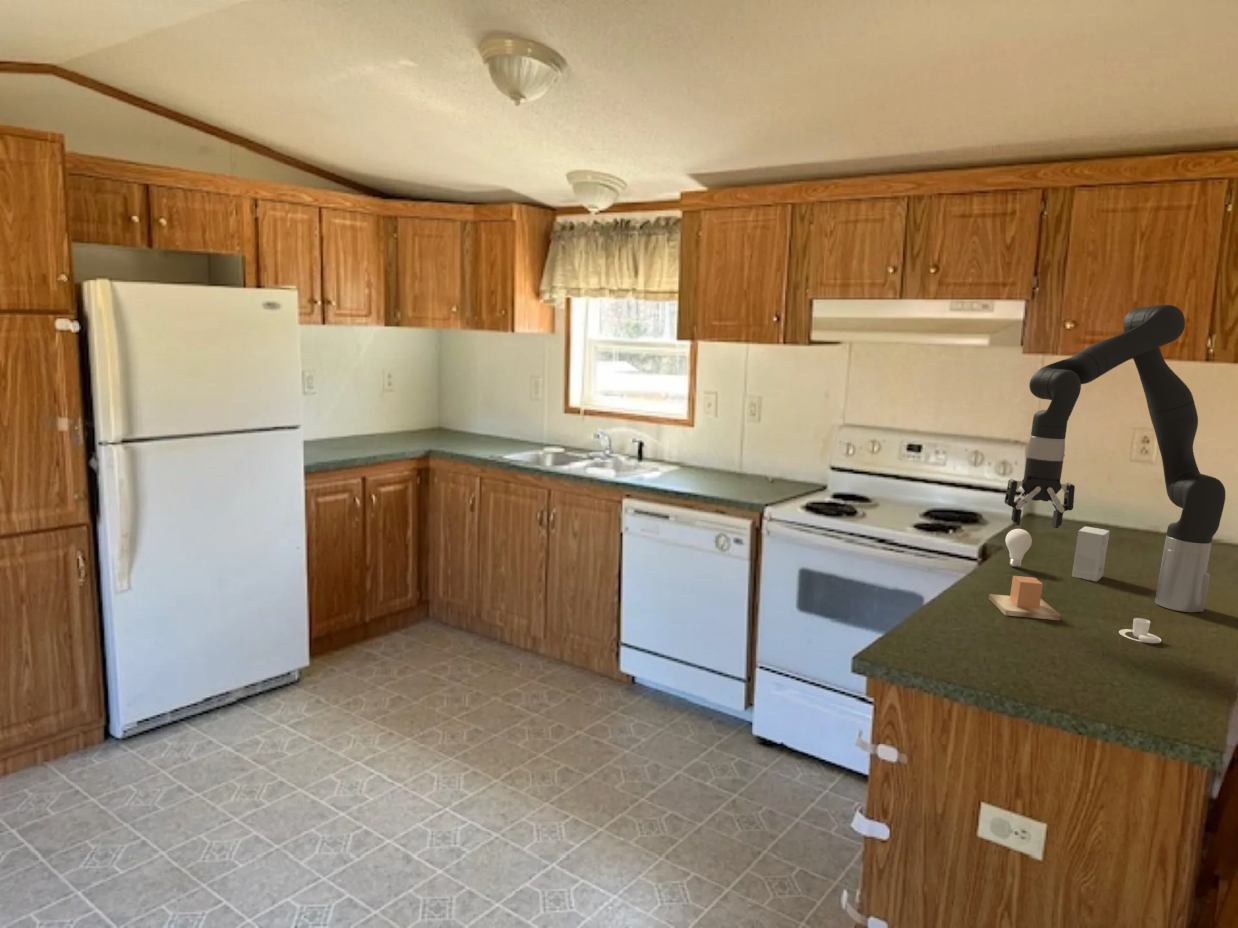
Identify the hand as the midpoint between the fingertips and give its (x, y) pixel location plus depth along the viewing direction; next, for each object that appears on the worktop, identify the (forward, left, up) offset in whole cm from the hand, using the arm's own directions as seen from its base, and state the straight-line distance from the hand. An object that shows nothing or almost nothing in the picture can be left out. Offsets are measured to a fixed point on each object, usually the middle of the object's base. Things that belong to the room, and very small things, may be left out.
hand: (1035, 525), depth 193 cm
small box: (-29, -36, -20) cm, 51 cm away
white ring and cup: (-18, +14, -21) cm, 31 cm away
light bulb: (-11, -39, -20) cm, 45 cm away
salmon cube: (0, 0, -19) cm, 19 cm away
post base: (0, 0, -20) cm, 20 cm away
